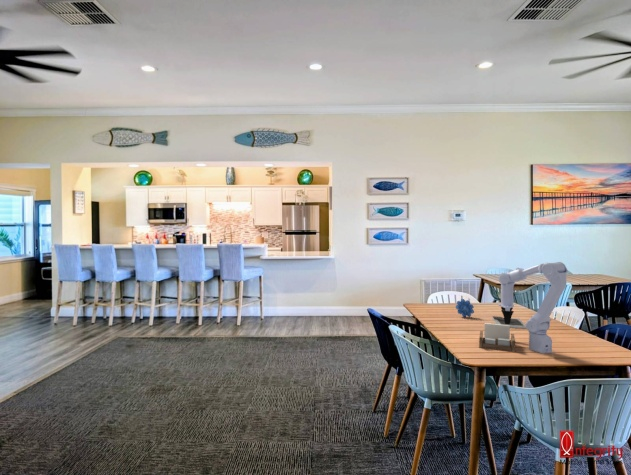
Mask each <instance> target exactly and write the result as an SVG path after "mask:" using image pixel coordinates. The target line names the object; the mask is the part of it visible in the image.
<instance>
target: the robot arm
mask: <svg viewBox="0 0 631 475" xmlns="http://www.w3.org/2000/svg"><path fill="white" fill-rule="evenodd" d="M568 272H569V270H568V268H567V266H566V264H565V263H563V262H562V261H556V262H545V263H540V264H536V265H533V266H531V267H528V268H525V269H524V268H522V267H516V268H515V269H514V270H509V271H507V272H502V273H500V274H499V276H498V281H499V283H500V303H498V306H500V309H501V313H502V316H503V318H504V321H505V324H510V321H511V318H512V316H513V314H514V310H513V308H514V305H515V304H514V286H515V283H517V282H520V281H524V280H526V279H528V278H527V277H528V276H532V275H535V274H539V273H540V275H541V274H543V276H544V277H545V278H546V280H547V281H549V283H550V286H549V288H548V290H547V292H546V294H545V296H544V298H543V299H542V302H541V304H540V306H539V307H538V309H537V311H536V312H535V313H534V314H532V316H531V317H530V318H529V319H528V320H526V322H525V324H526V328H527V329H526V330H527V331H528V349H529V350H531V351H533V352H536V353H540V354H552V355H553V354H554V351H553V339H552V337H551V336H549V335H548V334H547V333H548V330H549V329H550V326H551V321H552V319H551V317H550V316H551V315H552V313H553V311H554V310H555V308H556V305H558V304H557V303H558V302H559V300H560V298H561V296H562V294H563V292H564V291H565V289H566V287H567V274H568Z"/></svg>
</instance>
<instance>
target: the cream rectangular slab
mask: <svg viewBox="0 0 631 475" xmlns="http://www.w3.org/2000/svg"><path fill="white" fill-rule="evenodd" d="M510 332H511V330H510V325H502V324H496V323H490V322H489V323H488V322H484V331H483V333H484V335H483V336H484V337H483V338H493V339H498V338H501V339H509V340H511V336H510V335H511V333H510Z"/></svg>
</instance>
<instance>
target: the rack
mask: <svg viewBox="0 0 631 475" xmlns="http://www.w3.org/2000/svg"><path fill="white" fill-rule="evenodd" d="M483 333H484V330H480V331H479V338H478V339H479V341H478V342H479V343H478V348H479V349H485V350H486V349H487V350H497V351H503V352H504V351H507V352H514V353H515V352H516V338H515V334H514V333H510V335H511V336H510V346H504V345H498V339H495V344H485V338H484V337H483V336H484V335H483ZM491 339H493V338H491Z"/></svg>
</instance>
